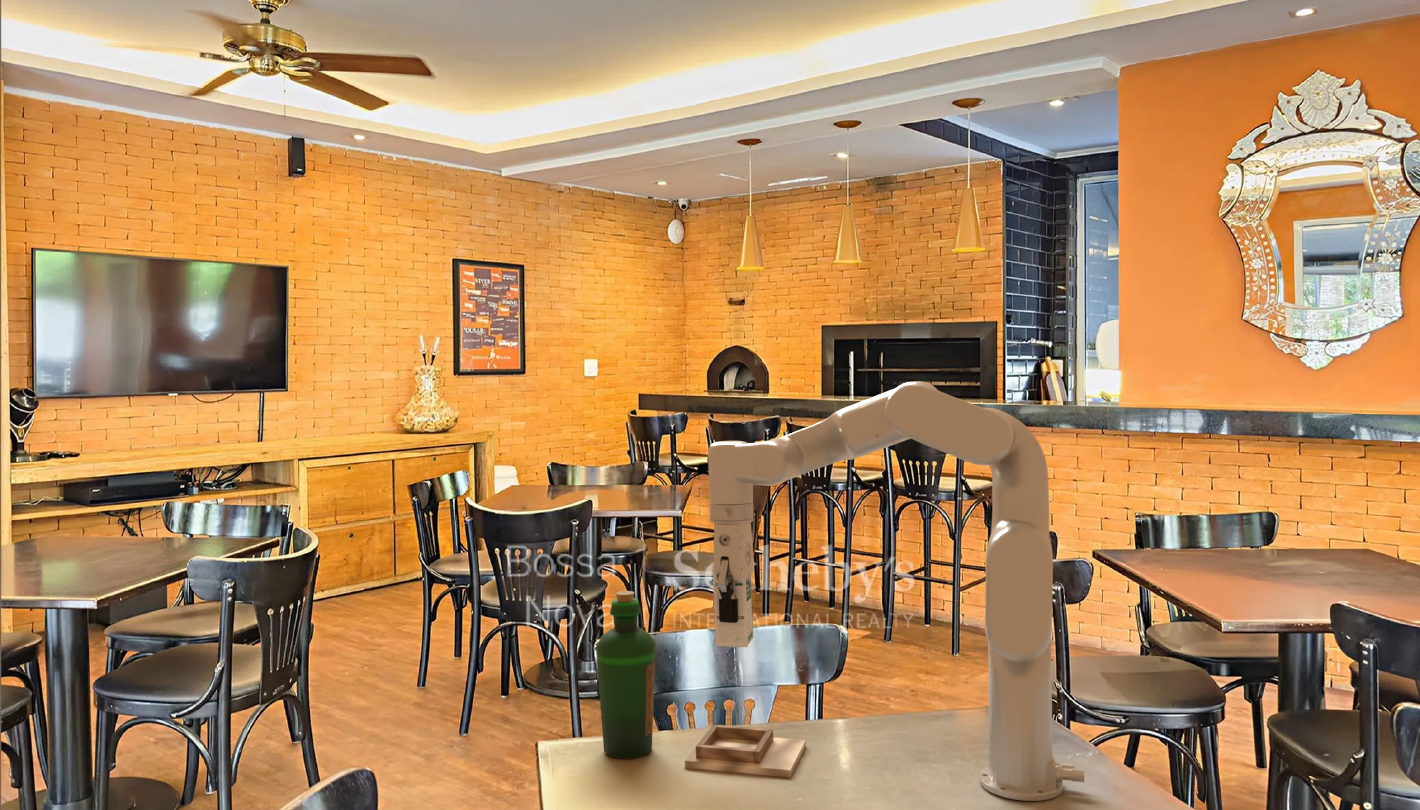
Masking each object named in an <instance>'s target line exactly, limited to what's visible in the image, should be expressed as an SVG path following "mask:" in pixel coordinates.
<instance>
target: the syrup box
mask: <svg viewBox="0 0 1420 810" xmlns="http://www.w3.org/2000/svg"><path fill="white" fill-rule="evenodd" d="M719 572H720V571H719ZM717 574H718V576H717V577H719V573H717ZM727 580H733V577H728V578H727ZM712 585H713V589H712V590H713V591H712V592H713V610H714V613H713V614H714V637H715V638H714V641H715V643H714V644H715V646H716V647H725V648H726V647H728V648H748V646H749V645H750V643H751V642H752V640H753V639H754V622H753V621H754V620H753V619H754V618H753V617H754V616H753V599H752V598H753V596H752V595H753V594H752V591H753V590H752V574H751V575H750V576H749V577H748V578H746V579H745V580H744V581H743V582H739V581H738V580H737V587H736V599H738V622H737V623H728V622H720V621H719V589H718V588H719V586H718V581H717V580H716V579H715V575H714V562H713V563H712ZM728 585H729V584H728ZM730 587H731V590H732V585H730Z"/></svg>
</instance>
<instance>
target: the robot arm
mask: <svg viewBox="0 0 1420 810" xmlns="http://www.w3.org/2000/svg"><path fill="white" fill-rule="evenodd" d="M911 439H912V440H914V441H916V442H918V443H920V444H922V445H924V446H928V447H930V448H932V449H935V450H938V451H940V452H943V453H945V454H948V455H950V456H952V457H955V458H957V459H959V460H961V461H962V460H963V461H964V462H968V463H970V464H973V465H978V466H989V469H990V471H991V479H992V482H991V483H992V488H991V489H992V490H991V491H992V493H991V500H992V511H991V512H992V514H991V515H992V516H991V517H992V518H991V519H992V521H991V532H990V535H989V540H988V543H987V547H986V554H985V591H984V592H985V594H984V595H985V598H984V601H985V603H984V604H985V606H984V630H985V636H986V639H987V641H988V643H987V644H988V651H987V653H988V655H987V656H988V661H987V663H988V745H989V746H988V748H989V749H988V751H989V752H988V753H989V754H988V755H989V764H988V766H987V767H984V768H983V769H982V770H981V771H980V773H979V783H980V785H981V787H982V788H984V790H986V791H988V792H990V793H992V794H994V795H996V796H999V797H1002V798H1005V799H1010V800H1014V801H1015V800H1016V801H1024V802H1025V801H1026V802H1037V801H1038V802H1039V801H1046V800H1051V799H1054V798H1056V797H1058V796H1061V794H1062V793H1063V791H1064V781H1072V782H1076V783H1085V771H1084V768H1075V764H1074V763H1072V764H1071V763H1059V761H1056V760H1055V759H1056V758H1055V753H1053V700H1052V698H1053V697H1052V696H1053V695H1052V693H1053V692H1052V691H1053V685H1052V684H1053V680H1052V678H1053V677H1052V675H1053V673H1052V671H1053V669H1052V667H1053V666H1052V665H1053V663H1052V627H1053V625H1052V624H1053V587H1054V585H1053V583H1054V582H1053V581H1054V579H1053V578H1054V569H1053V568H1054V566H1053V565H1054V561H1053V560H1054V559H1053V558H1054V555H1053V554H1054V553H1053V548H1052V543H1051V541H1052V540H1051V537H1050V499H1049V498H1050V497H1049V496H1050V495H1049V492H1050V491H1049V472H1048V465H1047V460H1046V459H1047V458H1046V456H1045V453H1044V450H1043V448H1042V446H1041V444H1040V442H1039V440H1038V439H1037V437H1036V436H1035V434H1034V433H1033V432H1032V431H1031V430H1030V428H1029V427H1027V426H1026V425H1025V424H1024V423H1023V422H1022V421H1020V420H1019V419H1017V418H1015V417H1014V416H1013V415H1011V414H1009V413H1007V412H1006V411H1004V410H1000V409H999V408H998V409H997V408H994V407H981V406H979V405H976V404H974V403H971V402H968V401H965V400H964V399H960V398H958V397H955V396H952V395H950V394H948V393H945V392H942V391H940V390H938V389H937V388H936V387H935V386H934V385H932V384H931V383H928V382H926V381H923V380H922V381H921V380H918V381H917V380H916V381H908V382H903V383H901V384H900V385H898V386H897V387H895V388H893V389H890V390H888V391H885V392H883V393H880V394H877V395H875V396H873V397H870V398H867V399H864V400H861V401H858V402H856V403H854V404H852V405H848V406H845V407H844V408H840V409H838V410H837V411H835V412H833V413H832V414H831V415H829V416H828V417H826V418H825V419H823V420H820V421H819V422H816V423H815V424H813V425H809V426H807V427H804V428H801V429H799V430H796V431H794V432H792V433H789V434H786V435H783V436H780V437H777V438H776V437H775V438H773V439H769V440H765V441H760V442H759V441H758V442H753V443H752V442H751V443H748V442H746V441H742V440H722V441H714V442H713V443H711V444H710V445H709V447H708V456H707V457H708V459H707V461H708V491H709V492H708V494H709V495H708V496H709V497H708V498H709V500H708V501H709V523H711V524H714V533H713V563H714V575H715V579H716V580H717V581H718V586H719V588H718V589H719V621H720V622H728V623H737V622H738V599H736V587H737V580H738V581H739V582H743V581H744V580H745V579H746V578H748V577H749V576H750V575H751V576H752V575H753V574H754V570H755V564H754V563H755V562H754V559H755V558H754V548H753V546H754V545H753V533H752V526H751V523H752V522H754V485H760V486H765V487H766V486H767V487H769V486H771V487H772V486H777V485H780V484H783V483H784V482H786V481H790V480H792V479H794V478H797V477H799V476H802V475H805V474H807V473H810V472H812V471H815V470H818V469H820V468H823V467H826V466H829V465H833V464H835V463H838V462H842V461H848V460H850V461H851V460H855V459H858V458H861V457H864V456H867V455H869V454H872V453H874V452H877V451H879V450H883V449H885V448H888V447H890V446H893V445H896V444H899V443H902V442H905V441H907V440H911ZM719 571H720V572H719ZM717 573H719V577H717V576H718V574H717ZM728 577H733V580H727V578H728ZM728 584H729V585H728ZM730 585H732V590H731V587H730Z"/></svg>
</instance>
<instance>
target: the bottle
mask: <svg viewBox="0 0 1420 810" xmlns="http://www.w3.org/2000/svg"><path fill="white" fill-rule="evenodd" d="M634 595H635V592H634V591H632V590H621V591H617V592H615V597H616V598H614V599H612V600H611V605H610V606H611V607H610V611H609V615H611V616H612V617H613V626H614V627H612V628H610V629H609V630H607V631H606V632H605V633H603V634H602V635H601V636H600V638H599V640H598V642H597V644H596V646H595V654H596V667H597V675H598V676H597V677H598V690H599V691H598V692H599V703H600V715H601V716H600V717H601V729H602V730H601V731H602V741H603V742H602V743H603V752H604V753H605V754H607V755H608V756H610V757H612V758H615V759H616V758H617V759H621V758H622V760H624V759H625V758H628V759H635V758H640V757H643V756H645V755H646V754H648V753H650V752H651V751H652V749H653V729H654V728H653V724H654V698H655V672H656V669H655V668H656V646H657V645H656V641H655V639H654V638H653V636H652V634H651V633H649V632H647V630H644V629H643V628H641V627H640V626H638V615H640V614H642V613H641V605H640V602H639V599H638V598H636V597H634Z"/></svg>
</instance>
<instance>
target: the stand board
mask: <svg viewBox="0 0 1420 810" xmlns="http://www.w3.org/2000/svg"><path fill="white" fill-rule="evenodd" d="M806 747H807V741H806V739H799V738H798V739H797V738H784V737H774V729H773V728H763V727H762V728H760V727H750V726H749V727H748V726H738V725H736V726H735V725H724V724H723V725H722V724H712V725H711V726H710V728H709V729H708V730H707V732H706V733H705V734H704V735H703V737H702V738H701V739H700V740H699V742H698V743H697V745H695V747H694V748H693V750H692V751H691V752H690V754H689V755H688V756H687V758H686V759H685V760H684V768H685V769H694V770H703V771H705V770H707V771H714V772H724V773H725V772H727V773H737V774H747V775H748V774H749V775H760V776H771V777H780V778H781V777H782V778H792V776H793V774H794V772H795V769H796V767H797V765H798V763H799V761H800V759H801V757H802V756H803V753H804V751H805V749H806Z"/></svg>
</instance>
